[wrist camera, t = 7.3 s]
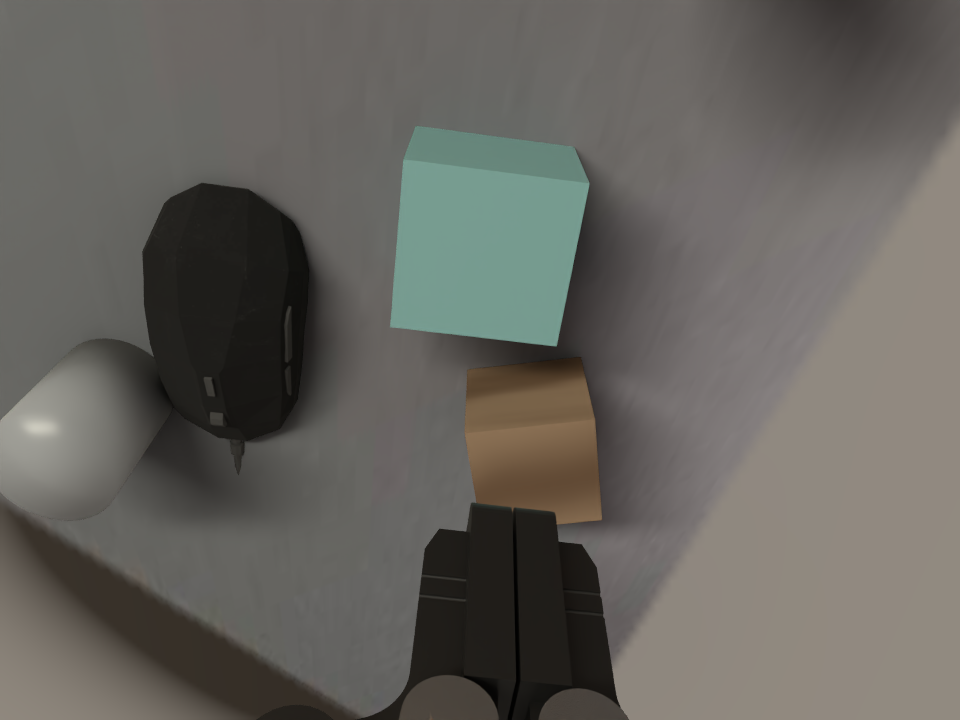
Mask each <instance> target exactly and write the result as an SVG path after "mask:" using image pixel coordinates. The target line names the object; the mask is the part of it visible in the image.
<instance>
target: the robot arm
mask: <svg viewBox="0 0 960 720" xmlns="http://www.w3.org/2000/svg"><path fill="white" fill-rule="evenodd" d="M257 720H333V719H332V718H331V717H330V716H328V715H327V714H326V713H324V712H322V711H320V710H318V709H316V708H313V707H310V706H303V705H290V706H284V707H281V708H277V709H274V710H272V711H270V712H268V713H266V714H264V715H263V716H261V717H260V718H258V719H257ZM357 720H629V719H628V717H627V716H626V715H625V713H624V712H623V710H622V709H621V708H620V705H619V702H618V700H617V696H616V691H615V684H614V678H613V671H612V665H611V658H610V652H609V645H608V639H607V632H606V626H605V619H604V618H603V606H602V599H601V597H600V586H599V580H598V573H597V567H596V566H595V564H594V563H593V561H592V560H591V558H590V556H589V555H588V553H587V552H586V550H585V549H584V547H583V546H582V544H574V543H565V542H558V532H557V522H556V515H555V512H552V511H544V510H535V509H526V508H517V507H514V509H513V512H512V508H511V507H506V506H498V505H489V504H480V503H471V506H470V512H469V518H468V525H467V531H466V532H464V531H455V530H446V529H439V530H438V531H437V533H436V534H435V535H434V537H433V538H432V540H431V541H430V542H429V544H428V545H427V547H426V548H425V552H424V560H423V569H422V577H421V585H420V593H419V601H418V610H417V618H416V626H415V635H414V643H413V651H412V660H411V668H410V675H409V680H408V682H407V685H406V687H405V689H404V690H403V692H402V694H401V695H400V696H399V697H398V698H397V699H396V701H394V702H393V703H392V704H391V705H390V706H389V707H387V708H386V709H384V710H382V711H381V712H379V713H376V714H374V715H372V716H368V717H365V718H361V719H357Z"/></svg>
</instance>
